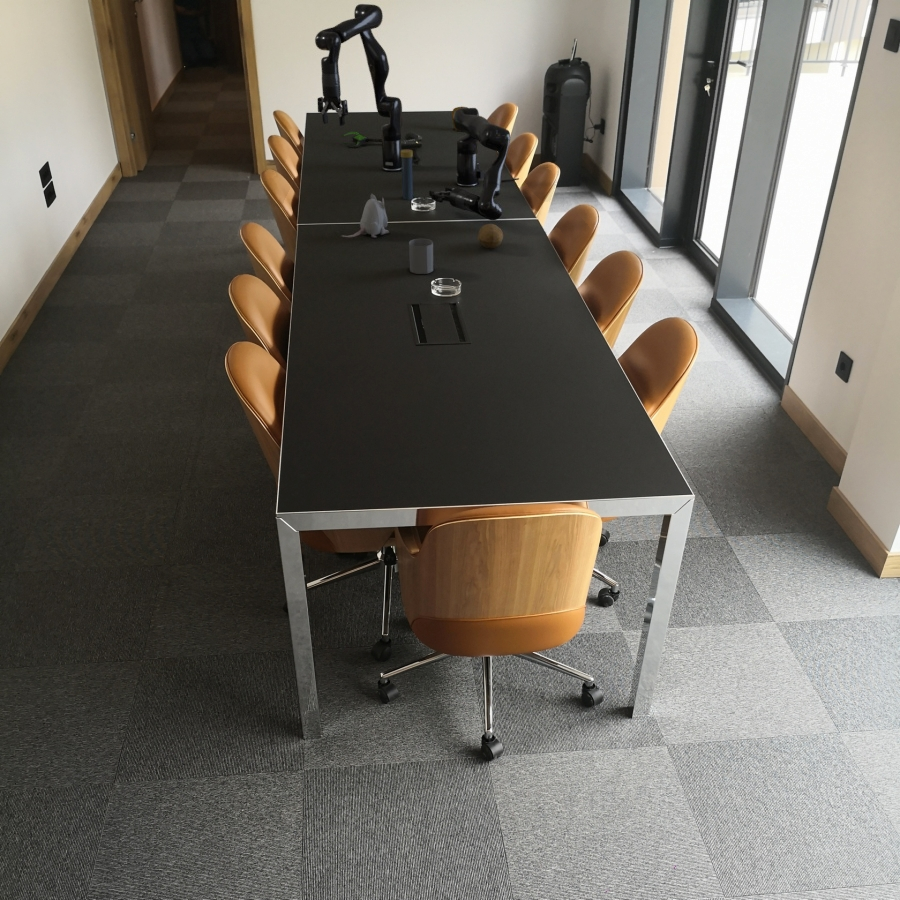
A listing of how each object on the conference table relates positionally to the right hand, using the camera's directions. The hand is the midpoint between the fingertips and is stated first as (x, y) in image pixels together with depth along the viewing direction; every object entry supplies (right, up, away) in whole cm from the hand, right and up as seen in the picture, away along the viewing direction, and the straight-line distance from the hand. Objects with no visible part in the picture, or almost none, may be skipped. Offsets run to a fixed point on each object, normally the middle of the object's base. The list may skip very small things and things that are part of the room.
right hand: (437, 191), depth 363 cm
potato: (+20, -32, -35) cm, 51 cm away
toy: (-28, -26, -27) cm, 47 cm away
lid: (-13, +19, +7) cm, 24 cm away
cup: (-5, -45, -55) cm, 71 cm away
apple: (+12, +72, +127) cm, 147 cm away
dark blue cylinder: (-13, +2, +18) cm, 22 cm away
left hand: (-45, +31, +9) cm, 56 cm away
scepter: (-37, +54, +99) cm, 118 cm away
